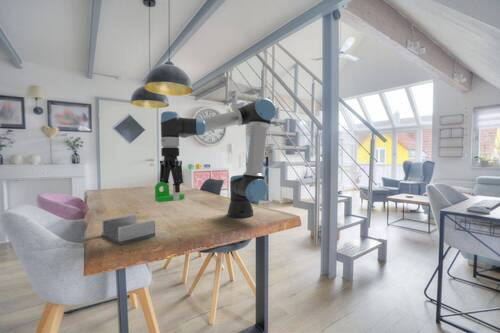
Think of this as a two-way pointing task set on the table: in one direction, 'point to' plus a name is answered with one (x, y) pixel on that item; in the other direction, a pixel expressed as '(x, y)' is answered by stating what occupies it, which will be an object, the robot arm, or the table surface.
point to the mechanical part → (164, 193)
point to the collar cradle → (127, 229)
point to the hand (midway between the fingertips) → (171, 198)
